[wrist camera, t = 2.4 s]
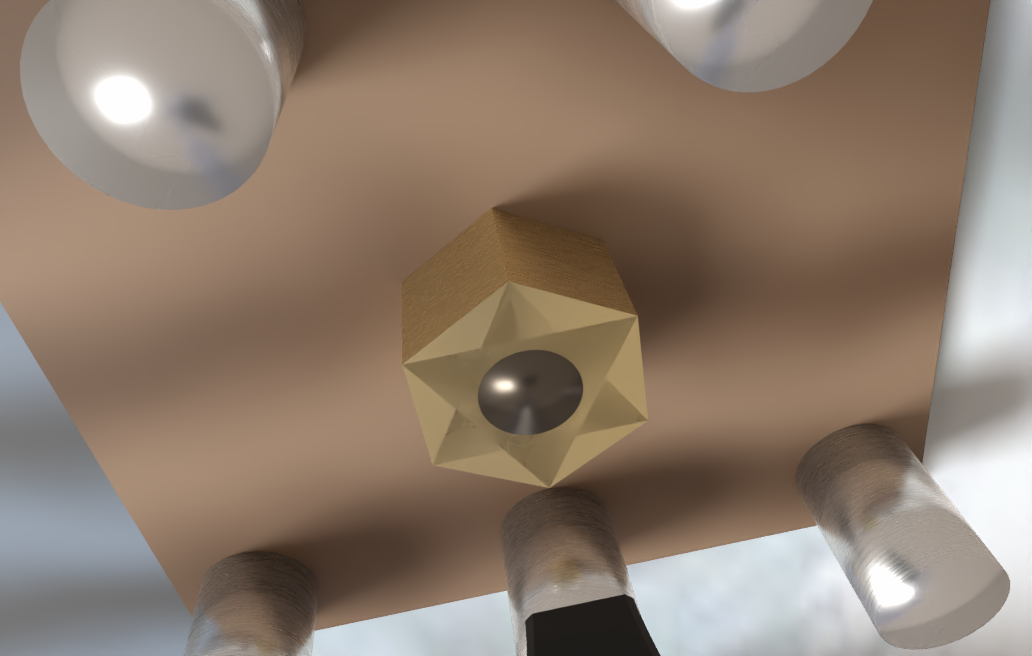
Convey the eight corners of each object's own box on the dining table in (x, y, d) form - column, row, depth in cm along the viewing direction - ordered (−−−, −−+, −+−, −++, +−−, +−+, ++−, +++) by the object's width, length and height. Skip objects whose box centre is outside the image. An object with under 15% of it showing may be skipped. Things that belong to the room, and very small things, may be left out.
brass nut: (620, 379, 20) (652, 466, 17) (439, 417, 19) (446, 510, 17) (596, 186, 17) (631, 256, 14) (386, 229, 17) (384, 306, 14)
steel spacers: (900, 495, 23) (998, 633, 19) (224, 637, 23) (190, 804, 19) (996, -240, 13) (1227, -252, 10) (-155, -9, 13) (-371, 70, 10)
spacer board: (901, 484, 24) (915, 504, 23) (-127, 700, 24) (-143, 726, 23) (1001, -280, 14) (1032, -284, 13) (-777, 76, 14) (-836, 92, 13)
